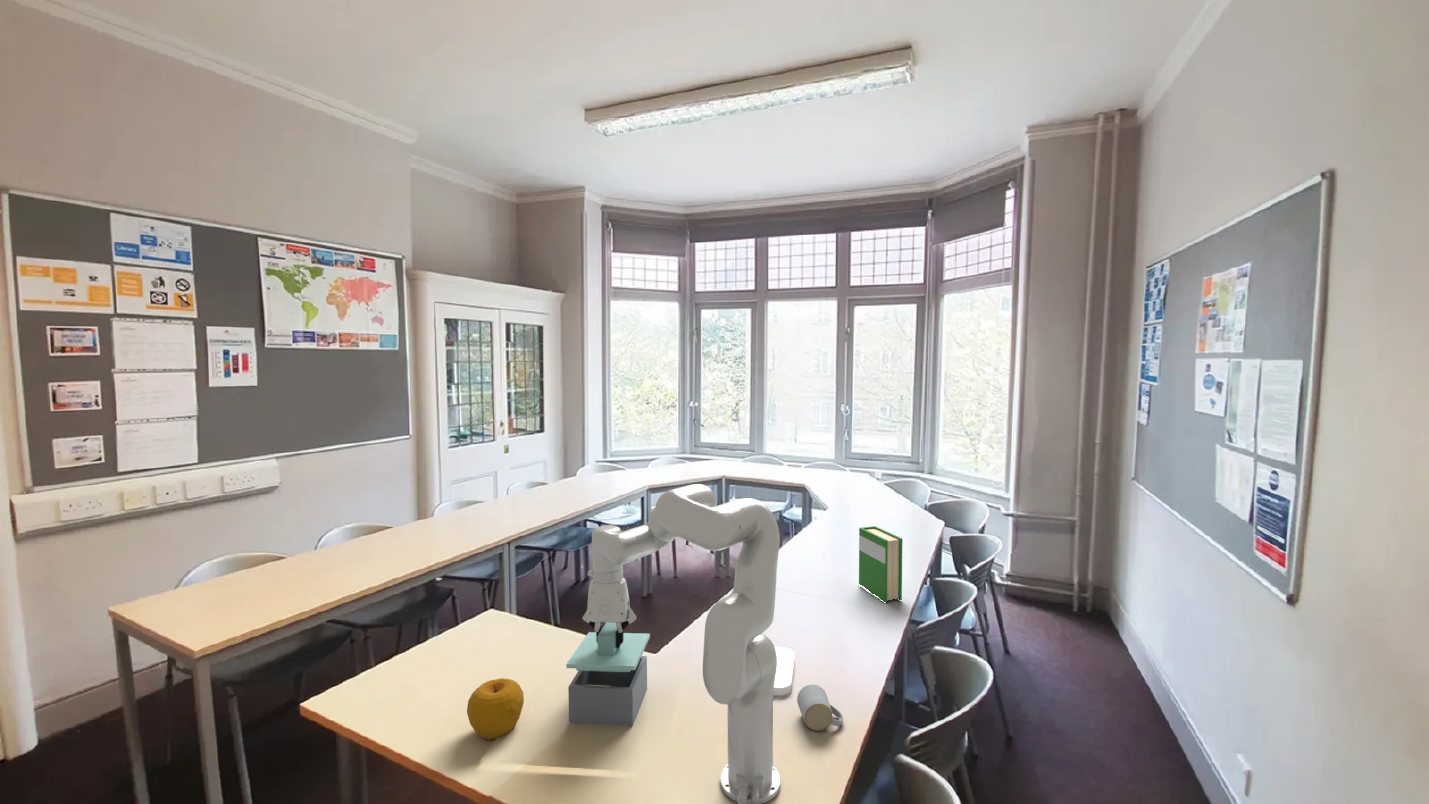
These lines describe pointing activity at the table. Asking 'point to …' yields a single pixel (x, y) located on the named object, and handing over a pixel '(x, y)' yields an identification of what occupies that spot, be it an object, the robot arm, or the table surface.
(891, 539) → the hardback book
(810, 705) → the ceramic mug
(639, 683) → the tub
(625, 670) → the lid
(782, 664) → the computer
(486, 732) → the apple
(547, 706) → the table surface
